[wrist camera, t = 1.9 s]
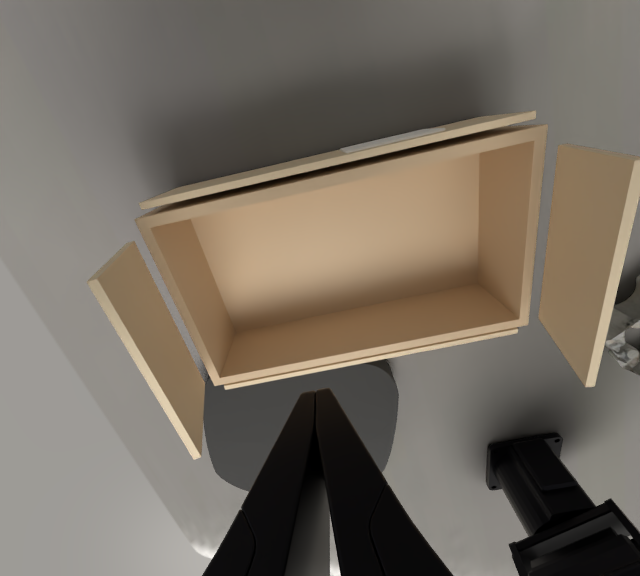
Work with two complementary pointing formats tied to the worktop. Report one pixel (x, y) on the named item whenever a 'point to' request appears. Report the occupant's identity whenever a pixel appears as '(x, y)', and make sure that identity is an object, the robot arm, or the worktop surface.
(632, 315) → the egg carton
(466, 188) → the carton
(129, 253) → the flap
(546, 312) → the flap
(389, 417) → the media streaming box
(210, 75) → the worktop surface
